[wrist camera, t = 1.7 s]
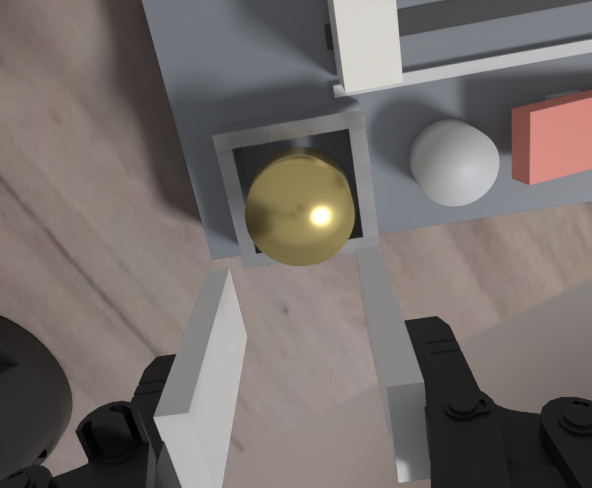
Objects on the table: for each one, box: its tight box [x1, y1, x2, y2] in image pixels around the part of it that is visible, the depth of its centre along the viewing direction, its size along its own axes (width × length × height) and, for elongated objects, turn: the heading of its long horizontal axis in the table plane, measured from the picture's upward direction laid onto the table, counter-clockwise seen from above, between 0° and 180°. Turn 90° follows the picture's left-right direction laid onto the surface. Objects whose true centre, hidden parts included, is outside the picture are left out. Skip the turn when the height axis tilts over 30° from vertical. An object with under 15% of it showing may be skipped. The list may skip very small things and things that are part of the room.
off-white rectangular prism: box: [327, 0, 403, 93], centre depth 23 cm, size 2×4×5 cm, turn 10°
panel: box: [142, 0, 592, 260], centre depth 27 cm, size 24×15×6 cm, turn 100°
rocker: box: [512, 90, 592, 185], centre depth 26 cm, size 6×4×1 cm, turn 100°
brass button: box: [245, 147, 355, 266], centre depth 25 cm, size 5×5×3 cm
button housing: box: [212, 101, 380, 269], centre depth 27 cm, size 7×7×2 cm
